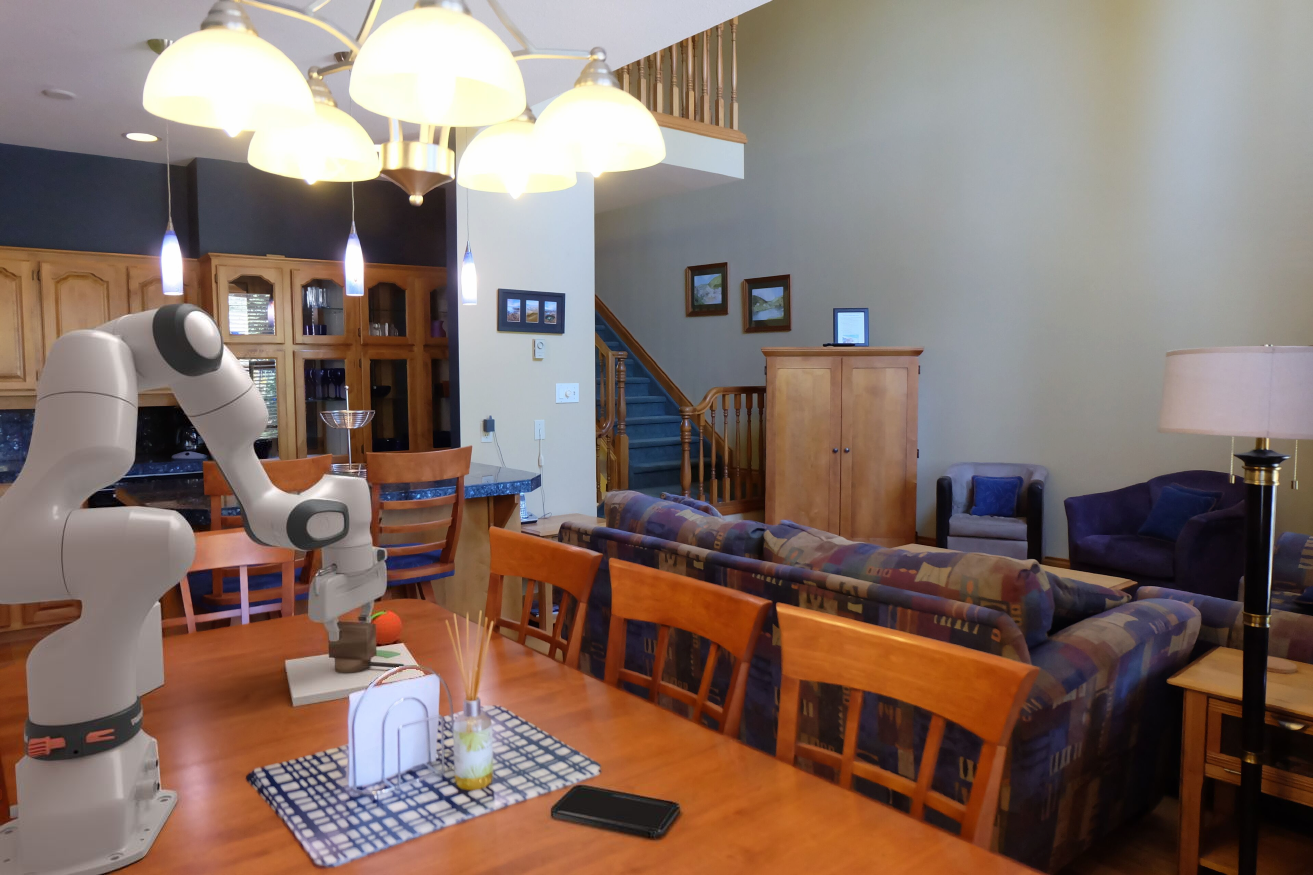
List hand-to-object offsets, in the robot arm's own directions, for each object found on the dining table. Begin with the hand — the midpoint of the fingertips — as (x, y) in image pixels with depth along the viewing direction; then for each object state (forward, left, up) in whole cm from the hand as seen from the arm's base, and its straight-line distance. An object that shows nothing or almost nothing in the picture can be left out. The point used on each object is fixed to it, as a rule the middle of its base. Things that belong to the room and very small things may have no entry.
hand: (350, 632), depth 155 cm
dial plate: (-1, 0, -8) cm, 8 cm away
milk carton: (+10, +36, -8) cm, 38 cm away
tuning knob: (-3, -3, -6) cm, 7 cm away
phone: (-69, -23, -9) cm, 74 cm away
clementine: (+16, -8, -8) cm, 20 cm away
